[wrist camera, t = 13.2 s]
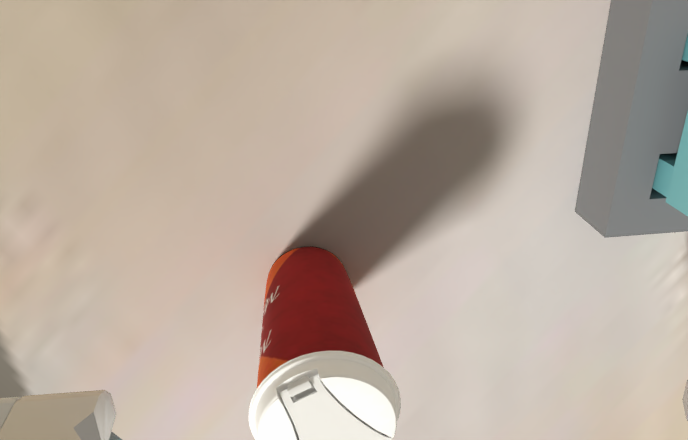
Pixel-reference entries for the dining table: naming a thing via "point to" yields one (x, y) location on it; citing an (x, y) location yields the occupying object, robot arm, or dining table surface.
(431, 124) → the dining table surface
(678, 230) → the gray socket block
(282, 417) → the paper cup
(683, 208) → the notched turquoise block
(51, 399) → the robot arm
